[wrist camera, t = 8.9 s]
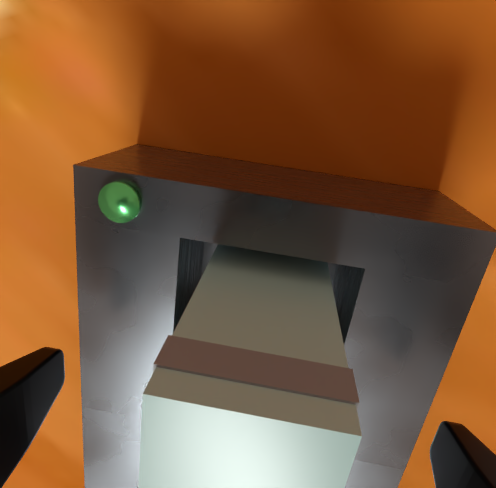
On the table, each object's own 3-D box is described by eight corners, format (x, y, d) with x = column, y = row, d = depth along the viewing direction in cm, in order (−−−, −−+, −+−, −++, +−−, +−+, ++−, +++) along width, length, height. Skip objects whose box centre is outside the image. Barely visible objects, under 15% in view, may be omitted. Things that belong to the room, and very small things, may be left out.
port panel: (438, 191, 12) (514, 242, 8) (323, 543, 19) (331, 673, 15) (136, 144, 13) (59, 169, 9) (127, 503, 20) (81, 617, 15)
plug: (324, 237, 13) (366, 434, 5) (297, 357, 15) (301, 625, 7) (227, 221, 13) (139, 390, 6) (212, 341, 15) (131, 588, 7)
